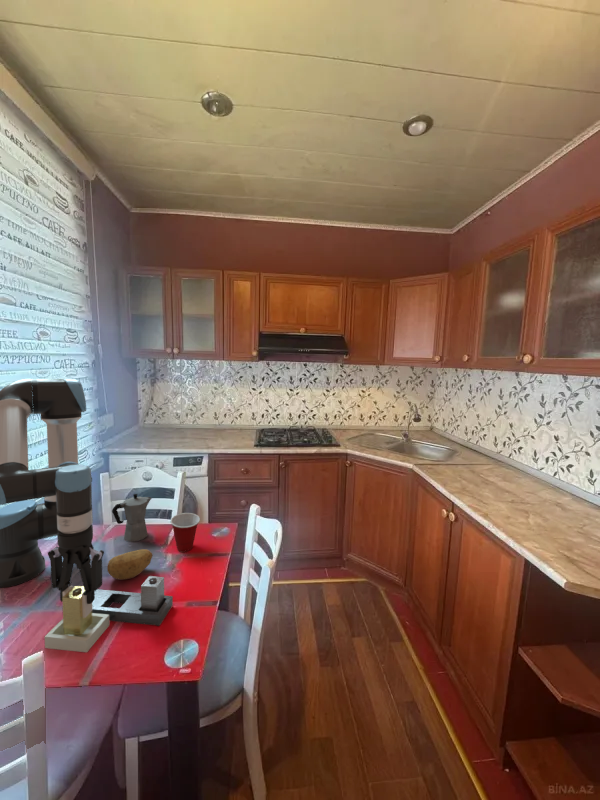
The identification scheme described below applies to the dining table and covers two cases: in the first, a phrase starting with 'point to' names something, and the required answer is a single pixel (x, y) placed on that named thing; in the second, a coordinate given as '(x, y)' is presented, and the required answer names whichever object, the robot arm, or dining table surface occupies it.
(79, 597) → the block with metal knob
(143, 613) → the rail
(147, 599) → the square rod with stud
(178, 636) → the dining table surface
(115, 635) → the dining table surface
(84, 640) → the parts tray
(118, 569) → the potato
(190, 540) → the plastic cup
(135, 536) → the coffeepot
